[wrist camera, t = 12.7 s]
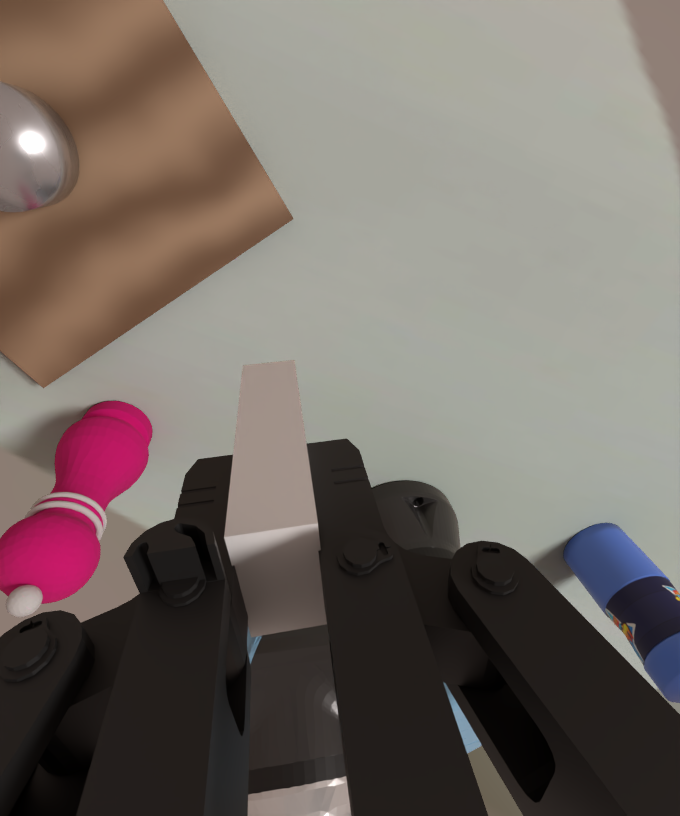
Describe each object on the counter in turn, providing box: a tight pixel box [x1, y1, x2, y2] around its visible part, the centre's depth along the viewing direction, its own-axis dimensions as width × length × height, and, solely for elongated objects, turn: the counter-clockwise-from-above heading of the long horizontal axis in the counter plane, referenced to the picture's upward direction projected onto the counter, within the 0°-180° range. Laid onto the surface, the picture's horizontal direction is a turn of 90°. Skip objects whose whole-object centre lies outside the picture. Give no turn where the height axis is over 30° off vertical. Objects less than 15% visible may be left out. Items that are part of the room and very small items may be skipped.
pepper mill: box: [0, 401, 152, 617], centre depth 33 cm, size 7×7×20 cm
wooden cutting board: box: [0, 0, 293, 388], centre depth 29 cm, size 26×26×2 cm
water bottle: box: [563, 523, 680, 703], centre depth 52 cm, size 9×9×25 cm
